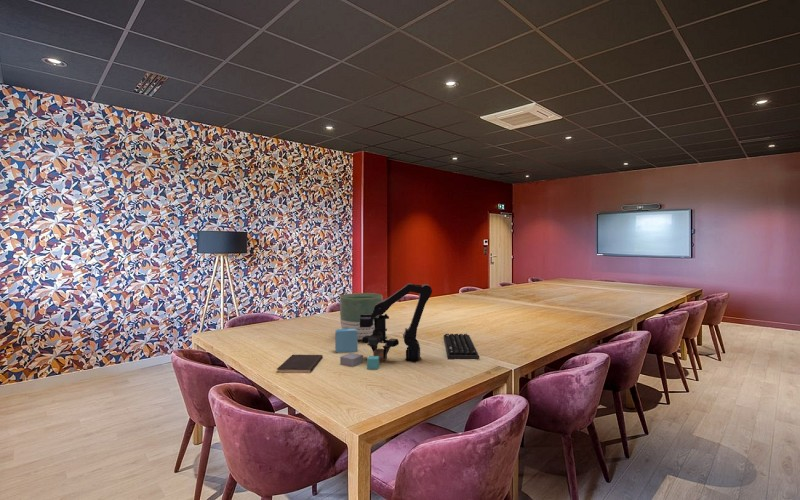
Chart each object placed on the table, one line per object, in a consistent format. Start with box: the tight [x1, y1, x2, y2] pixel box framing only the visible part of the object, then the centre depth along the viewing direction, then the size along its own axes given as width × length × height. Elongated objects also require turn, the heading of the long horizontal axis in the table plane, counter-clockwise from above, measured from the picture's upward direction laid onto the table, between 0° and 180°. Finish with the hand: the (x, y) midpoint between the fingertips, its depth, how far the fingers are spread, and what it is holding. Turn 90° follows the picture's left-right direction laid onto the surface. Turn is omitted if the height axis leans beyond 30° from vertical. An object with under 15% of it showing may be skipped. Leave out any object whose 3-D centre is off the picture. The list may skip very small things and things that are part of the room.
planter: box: [339, 292, 384, 341], centre depth 242 cm, size 27×27×27 cm
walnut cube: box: [373, 347, 388, 363], centre depth 197 cm, size 5×5×5 cm
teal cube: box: [366, 355, 380, 370], centre depth 185 cm, size 5×5×5 cm
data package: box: [334, 328, 359, 354], centre depth 214 cm, size 12×4×12 cm, turn 100°
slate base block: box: [339, 352, 364, 368], centre depth 192 cm, size 8×8×4 cm
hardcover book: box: [276, 354, 324, 374], centre depth 190 cm, size 16×23×2 cm
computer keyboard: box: [443, 333, 480, 360], centre depth 220 cm, size 45×16×4 cm, turn 176°
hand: (380, 357), depth 197 cm, fingers closed on walnut cube, 5 cm apart
